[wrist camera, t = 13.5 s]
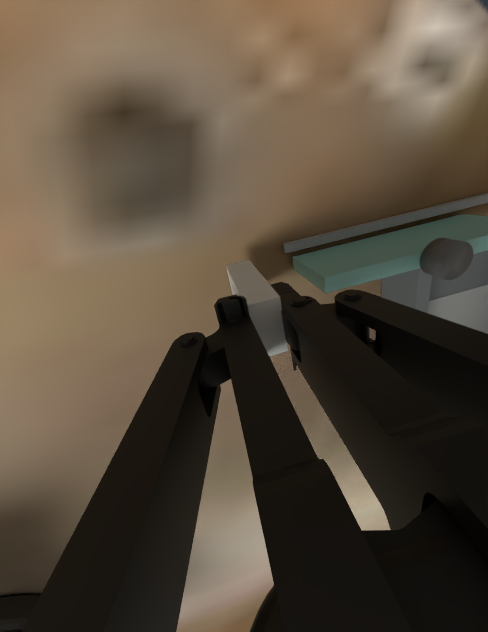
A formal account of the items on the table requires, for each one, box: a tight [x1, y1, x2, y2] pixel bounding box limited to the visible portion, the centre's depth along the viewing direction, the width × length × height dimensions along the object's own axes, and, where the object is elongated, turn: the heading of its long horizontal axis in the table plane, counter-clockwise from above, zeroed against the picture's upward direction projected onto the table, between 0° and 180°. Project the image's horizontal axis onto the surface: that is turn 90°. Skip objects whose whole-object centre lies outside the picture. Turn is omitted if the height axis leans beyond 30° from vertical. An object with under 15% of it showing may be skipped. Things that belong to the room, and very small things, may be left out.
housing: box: [282, 193, 488, 334], centre depth 23 cm, size 22×26×4 cm
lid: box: [292, 214, 488, 293], centre depth 17 cm, size 13×2×6 cm, turn 102°
